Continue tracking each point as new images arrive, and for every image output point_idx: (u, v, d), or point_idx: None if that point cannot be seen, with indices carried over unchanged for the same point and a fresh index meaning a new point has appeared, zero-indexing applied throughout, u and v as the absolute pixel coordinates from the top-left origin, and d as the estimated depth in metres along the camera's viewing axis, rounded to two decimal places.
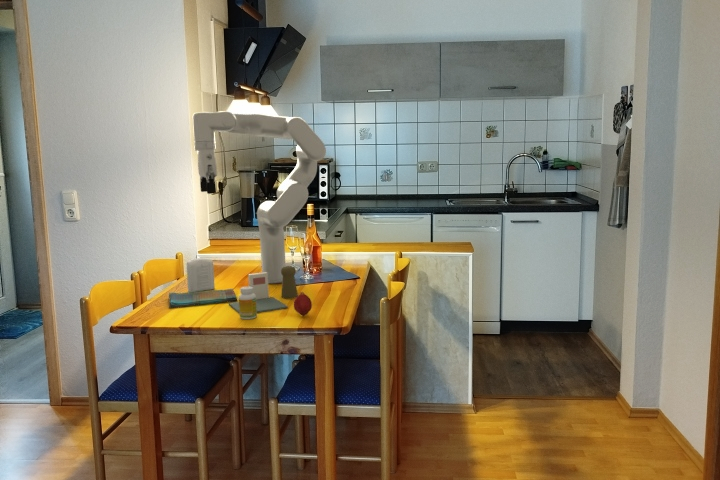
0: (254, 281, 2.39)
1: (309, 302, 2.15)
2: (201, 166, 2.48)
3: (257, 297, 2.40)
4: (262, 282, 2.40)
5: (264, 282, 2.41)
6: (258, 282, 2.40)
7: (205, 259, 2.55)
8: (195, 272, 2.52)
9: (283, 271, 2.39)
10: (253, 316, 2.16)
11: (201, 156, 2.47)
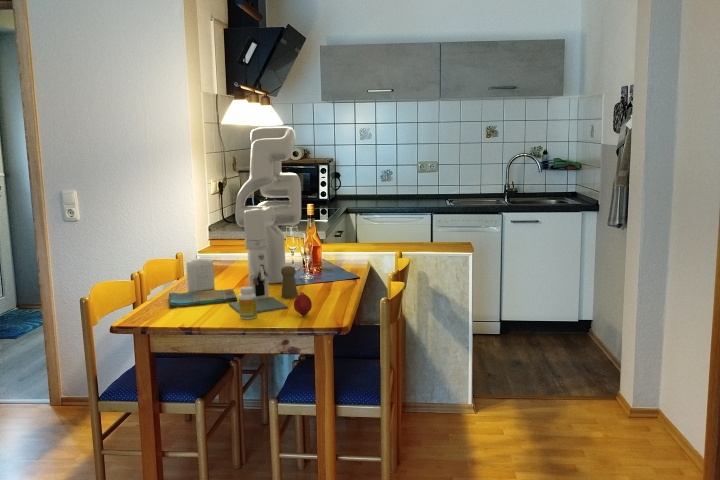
0: (254, 281, 2.39)
1: (309, 302, 2.15)
2: (252, 265, 2.37)
3: (257, 297, 2.40)
4: None
5: (264, 282, 2.41)
6: None
7: (205, 259, 2.55)
8: (195, 272, 2.52)
9: (283, 271, 2.39)
10: (253, 316, 2.16)
11: (253, 256, 2.35)
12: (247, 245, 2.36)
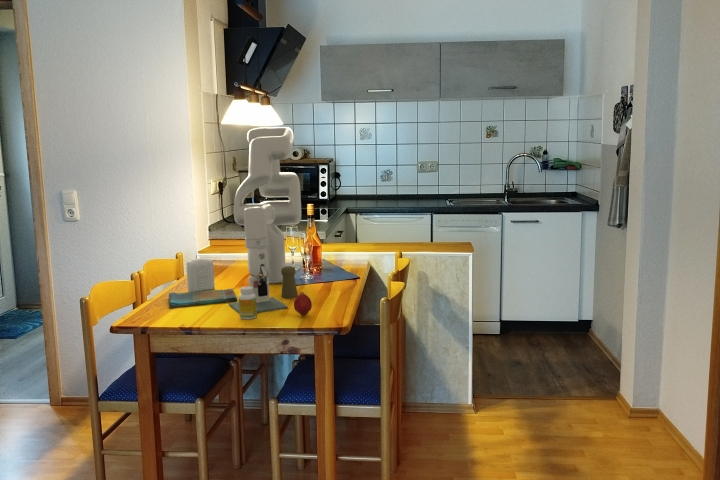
0: (254, 284, 2.32)
1: (309, 302, 2.15)
2: (252, 265, 2.29)
3: (257, 300, 2.33)
4: None
5: None
6: None
7: (205, 259, 2.55)
8: (195, 272, 2.52)
9: (283, 271, 2.39)
10: (253, 316, 2.16)
11: (253, 255, 2.28)
12: (247, 244, 2.29)
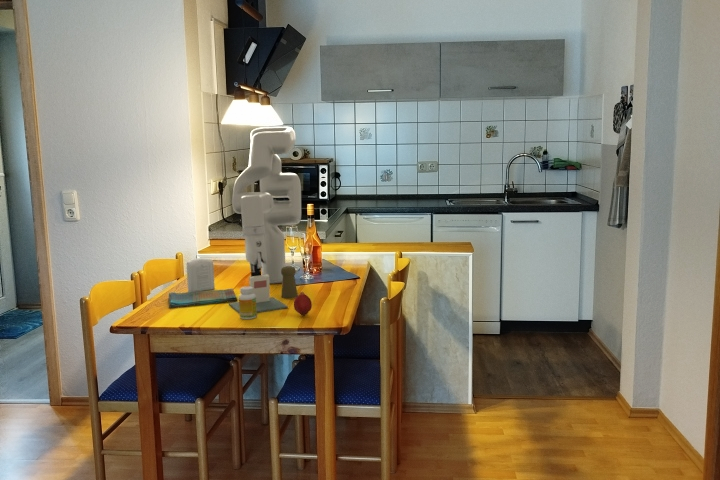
0: (255, 284, 2.31)
1: (309, 302, 2.15)
2: (250, 253, 2.31)
3: (258, 300, 2.33)
4: (263, 285, 2.33)
5: (265, 285, 2.33)
6: (259, 285, 2.32)
7: (205, 259, 2.55)
8: (195, 272, 2.52)
9: (283, 271, 2.39)
10: (253, 316, 2.16)
11: (250, 243, 2.29)
12: (244, 232, 2.30)
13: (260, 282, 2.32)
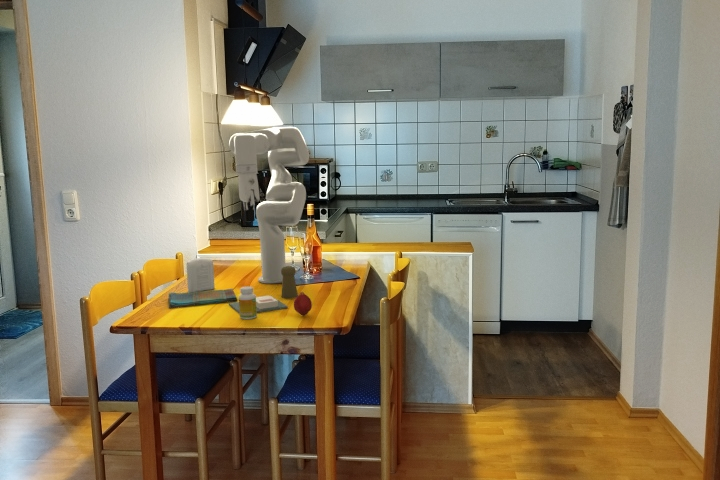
0: None
1: (309, 302, 2.15)
2: (243, 191, 2.38)
3: None
4: None
5: None
6: None
7: (205, 259, 2.55)
8: (195, 272, 2.52)
9: (283, 271, 2.39)
10: (253, 316, 2.16)
11: (243, 181, 2.36)
12: (238, 170, 2.37)
13: None
